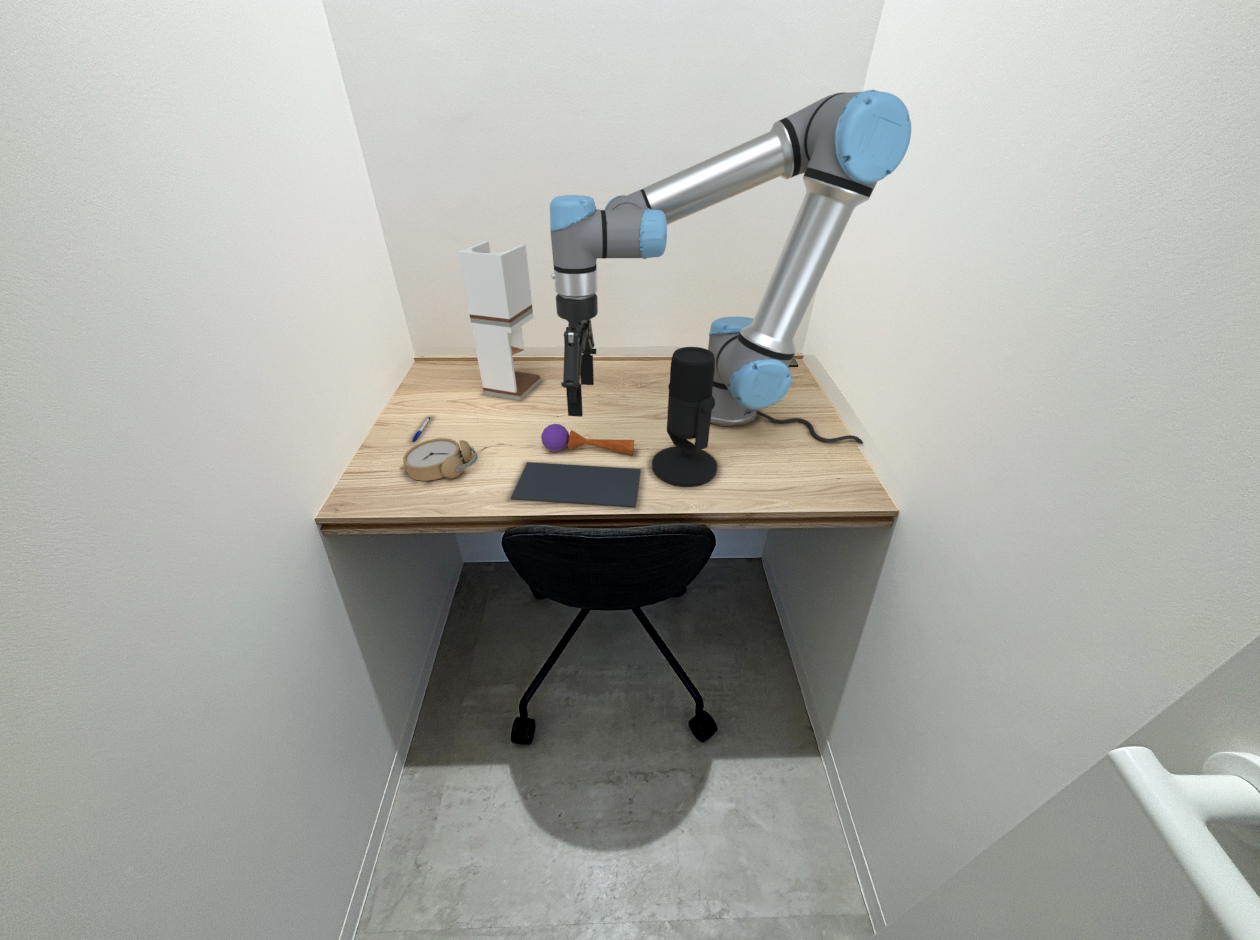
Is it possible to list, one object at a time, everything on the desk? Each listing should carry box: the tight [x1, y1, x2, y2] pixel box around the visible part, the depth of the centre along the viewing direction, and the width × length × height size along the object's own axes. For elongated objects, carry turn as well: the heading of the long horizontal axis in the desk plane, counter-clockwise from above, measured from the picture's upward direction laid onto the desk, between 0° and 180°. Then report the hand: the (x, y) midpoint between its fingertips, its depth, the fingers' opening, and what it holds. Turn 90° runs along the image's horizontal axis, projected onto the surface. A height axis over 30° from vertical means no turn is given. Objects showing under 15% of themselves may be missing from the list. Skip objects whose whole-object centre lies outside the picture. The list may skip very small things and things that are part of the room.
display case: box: [457, 241, 541, 401], centre depth 124 cm, size 11×11×35 cm
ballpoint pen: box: [412, 416, 431, 443], centre depth 117 cm, size 10×1×1 cm, turn 1°
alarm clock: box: [399, 437, 478, 482], centre depth 104 cm, size 11×5×15 cm
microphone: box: [651, 346, 718, 488], centre depth 98 cm, size 14×14×25 cm
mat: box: [510, 461, 642, 508], centre depth 100 cm, size 24×12×1 cm, turn 84°
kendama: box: [540, 423, 635, 456], centre depth 109 cm, size 6×6×20 cm
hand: (581, 399), depth 103 cm, fingers open, 13 cm apart
